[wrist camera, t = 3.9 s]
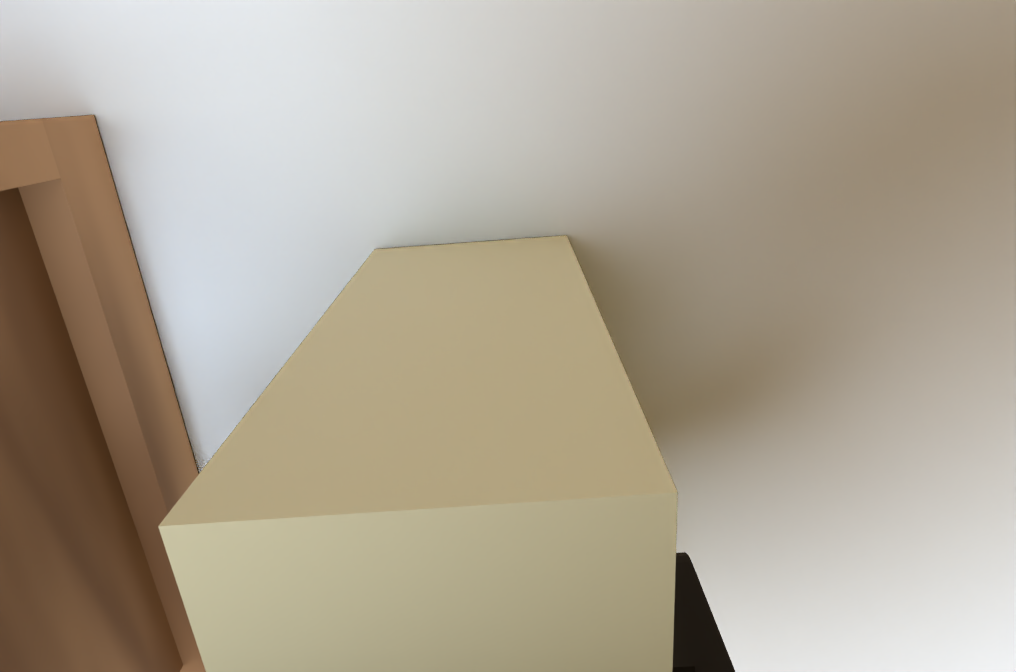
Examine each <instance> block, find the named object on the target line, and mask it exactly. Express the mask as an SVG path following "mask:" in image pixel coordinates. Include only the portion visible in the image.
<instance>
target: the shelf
mask: <svg viewBox="0 0 1016 672" xmlns="http://www.w3.org/2000/svg"><path fill="white" fill-rule="evenodd" d="M198 475H199V474H198V470H197V467H196V464H195V460H194V457H193V453H192V450H191V446H190V443H189V440H188V436H187V433H186V429H185V426H184V422H183V419H182V416H181V412H180V409H179V405H178V402H177V398H176V395H175V392H174V388H173V385H172V381H171V378H170V374H169V371H168V367H167V364H166V361H165V357H164V354H163V350H162V347H161V343H160V340H159V337H158V333H157V330H156V326H155V323H154V319H153V316H152V313H151V309H150V306H149V302H148V299H147V295H146V292H145V289H144V285H143V282H142V278H141V275H140V271H139V268H138V265H137V261H136V258H135V254H134V251H133V247H132V244H131V241H130V237H129V234H128V230H127V227H126V223H125V220H124V217H123V213H122V210H121V206H120V203H119V199H118V196H117V193H116V189H115V186H114V182H113V179H112V175H111V172H110V168H109V165H108V162H107V158H106V155H105V151H104V148H103V144H102V141H101V138H100V134H99V131H98V127H97V124H96V120H95V117H94V115H84V116H70V117H57V118H43V119H29V120H15V121H1V122H0V672H206V670H205V667H204V664H203V661H202V658H201V655H200V652H199V649H198V646H197V643H196V640H195V637H194V634H193V631H192V628H191V625H190V622H189V619H188V616H187V613H186V610H185V606H184V603H183V600H182V597H181V594H180V591H179V588H178V585H177V582H176V579H175V576H174V573H173V570H172V567H171V564H170V561H169V558H168V555H167V552H166V549H165V546H164V543H163V540H162V537H161V534H160V530H159V527H158V526H159V525H160V523H161V522H162V521H163V519H164V518H165V517H166V516H167V514H168V513H169V512H170V511H171V509H172V508H173V507H174V505H175V504H176V503H177V502H178V500H179V499H180V498H181V496H182V495H183V494H184V493H185V491H186V490H187V489H188V487H189V486H190V485H191V484H192V482H193V481H194V480H195V479H196V477H197V476H198Z"/></svg>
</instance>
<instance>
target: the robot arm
mask: <svg viewBox="0 0 1016 672" xmlns="http://www.w3.org/2000/svg"><path fill="white" fill-rule="evenodd" d="M672 672H735V670H734V667H733V665H732V662H731V660H730V657H729V655H728V652H727V650H726V647H725V645H724V642H723V640H722V637H721V635H720V632H719V630H718V627H717V625H716V622H715V620H714V617H713V615H712V612H711V610H710V607H709V604H708V602H707V599H706V597H705V594H704V592H703V589H702V587H701V584H700V582H699V579H698V577H697V574H696V572H695V569H694V567H693V564H692V562H691V560H690V558H689V556H688V554H686V553H676V568H675V602H674V636H673V670H672Z"/></svg>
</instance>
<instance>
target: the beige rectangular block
mask: <svg viewBox="0 0 1016 672" xmlns="http://www.w3.org/2000/svg"><path fill="white" fill-rule="evenodd" d="M677 500H678V492H677V490H676V487H675V485H674V483H673V480H672V478H671V476H670V474H669V471H668V469H667V467H666V464H665V462H664V460H663V457H662V455H661V453H660V450H659V448H658V446H657V443H656V441H655V439H654V436H653V434H652V432H651V429H650V427H649V425H648V423H647V420H646V418H645V416H644V413H643V411H642V409H641V406H640V404H639V402H638V399H637V397H636V395H635V392H634V390H633V388H632V385H631V383H630V381H629V378H628V376H627V374H626V372H625V369H624V367H623V365H622V362H621V360H620V358H619V355H618V353H617V351H616V348H615V346H614V344H613V341H612V339H611V337H610V334H609V332H608V330H607V327H606V325H605V323H604V321H603V318H602V316H601V314H600V311H599V309H598V307H597V304H596V302H595V300H594V297H593V295H592V293H591V290H590V288H589V286H588V283H587V281H586V279H585V276H584V274H583V272H582V269H581V267H580V265H579V263H578V260H577V258H576V256H575V253H574V251H573V249H572V246H571V244H570V242H569V239H568V237H567V235H563V236H550V237H536V238H522V239H508V240H495V241H481V242H467V243H453V244H440V245H426V246H412V247H398V248H384V249H374V251H373V252H372V253H371V254H370V256H369V257H368V258H367V260H366V261H365V262H364V263H363V265H362V266H361V267H360V269H359V270H358V271H357V272H356V274H355V275H354V276H353V278H352V279H351V280H350V281H349V283H348V284H347V285H346V286H345V288H344V289H343V290H342V292H341V293H340V294H339V295H338V297H337V298H336V299H335V301H334V302H333V303H332V304H331V306H330V307H329V308H328V310H327V311H326V312H325V313H324V315H323V316H322V317H321V318H320V320H319V321H318V322H317V324H316V325H315V326H314V327H313V329H312V330H311V331H310V333H309V334H308V335H307V336H306V338H305V339H304V340H303V342H302V343H301V344H300V345H299V347H298V348H297V349H296V350H295V352H294V353H293V354H292V356H291V357H290V358H289V359H288V361H287V362H286V363H285V365H284V366H283V367H282V368H281V370H280V371H279V372H278V374H277V375H276V376H275V377H274V379H273V380H272V381H271V382H270V384H269V385H268V386H267V388H266V389H265V390H264V391H263V393H262V394H261V395H260V397H259V398H258V399H257V400H256V402H255V403H254V404H253V406H252V407H251V408H250V409H249V411H248V412H247V413H246V415H245V416H244V417H243V418H242V420H241V421H240V422H239V423H238V425H237V426H236V427H235V429H234V430H233V431H232V432H231V434H230V435H229V436H228V438H227V439H226V440H225V441H224V443H223V444H222V445H221V447H220V448H219V449H218V450H217V452H216V453H215V454H214V455H213V457H212V458H211V459H210V461H209V462H208V463H207V464H206V466H205V467H204V468H203V470H202V471H201V472H200V473H199V475H198V476H197V477H196V479H195V480H194V481H193V482H192V484H191V485H190V486H189V487H188V489H187V490H186V491H185V493H184V494H183V495H182V496H181V498H180V499H179V500H178V502H177V503H176V504H175V505H174V507H173V508H172V509H171V511H170V512H169V513H168V514H167V516H166V517H165V518H164V519H163V521H162V522H161V523H160V525H159V526H158V527H159V530H160V534H161V537H162V540H163V543H164V546H165V549H166V552H167V555H168V558H169V561H170V564H171V567H172V570H173V573H174V576H175V579H176V582H177V585H178V588H179V591H180V594H181V597H182V600H183V603H184V606H185V610H186V613H187V616H188V619H189V622H190V625H191V628H192V631H193V634H194V637H195V640H196V643H197V646H198V649H199V652H200V655H201V658H202V661H203V664H204V667H205V670H206V672H672V670H673V636H674V602H675V568H676V534H677Z"/></svg>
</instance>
